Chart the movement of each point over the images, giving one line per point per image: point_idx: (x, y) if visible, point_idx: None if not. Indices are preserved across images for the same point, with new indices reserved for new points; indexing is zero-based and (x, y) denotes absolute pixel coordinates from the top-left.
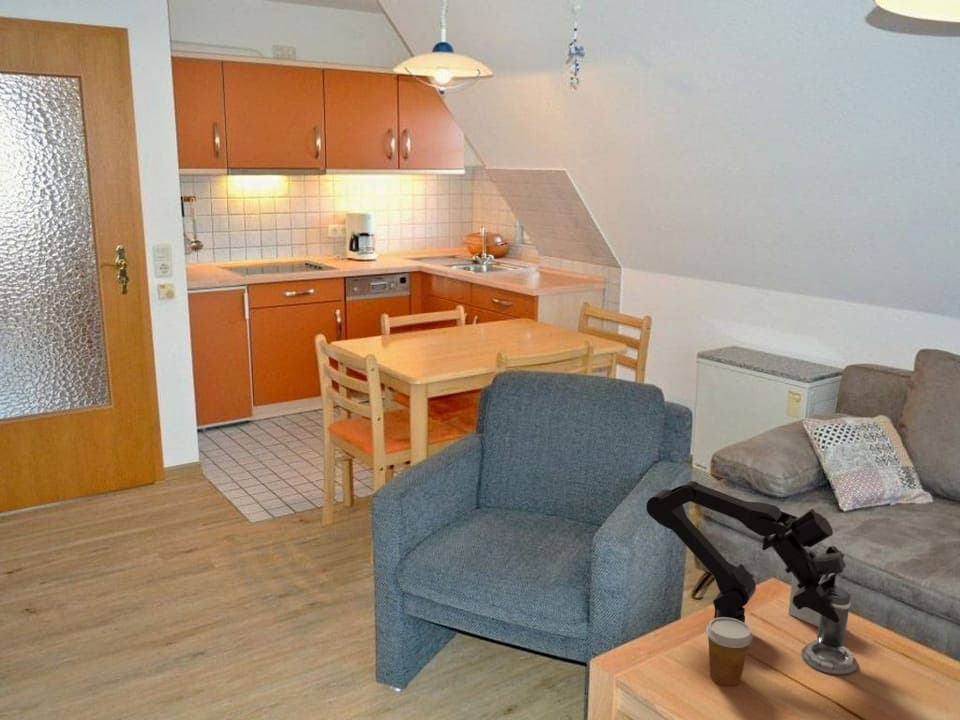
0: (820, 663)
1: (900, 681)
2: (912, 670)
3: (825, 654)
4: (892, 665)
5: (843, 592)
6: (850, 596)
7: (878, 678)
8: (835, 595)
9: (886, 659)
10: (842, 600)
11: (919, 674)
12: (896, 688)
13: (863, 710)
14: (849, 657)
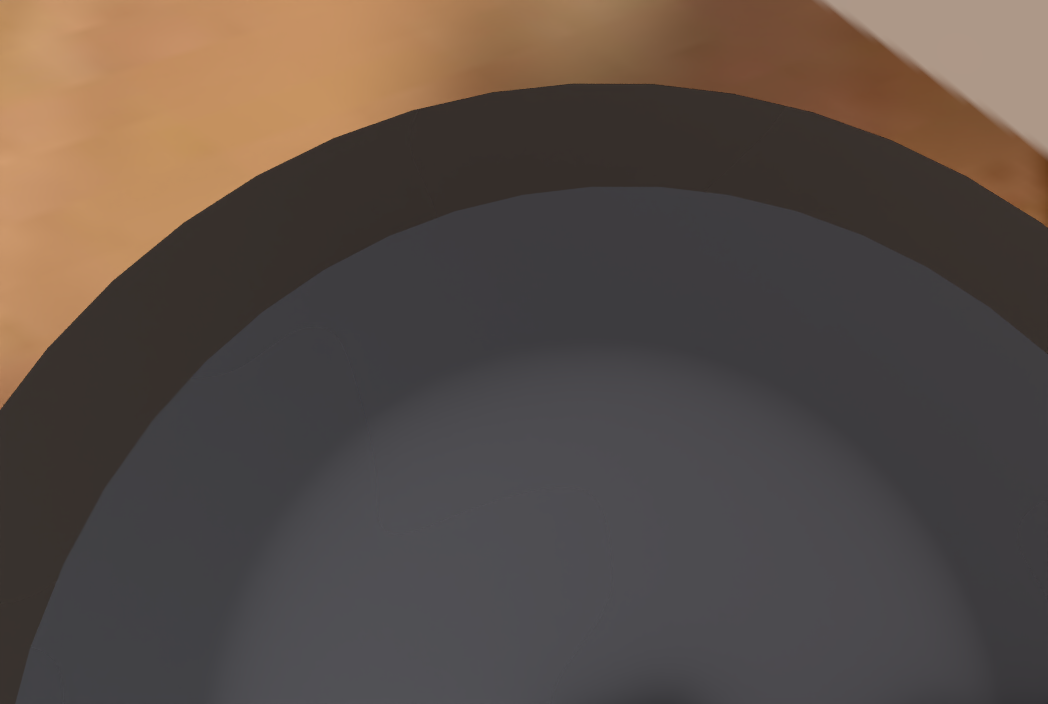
0: None
1: (347, 76)
2: (97, 72)
3: None
4: (138, 204)
5: (258, 536)
6: (364, 136)
7: None
8: (1017, 676)
9: (69, 276)
10: (1020, 234)
11: (121, 18)
12: (474, 61)
13: (963, 108)
14: None
